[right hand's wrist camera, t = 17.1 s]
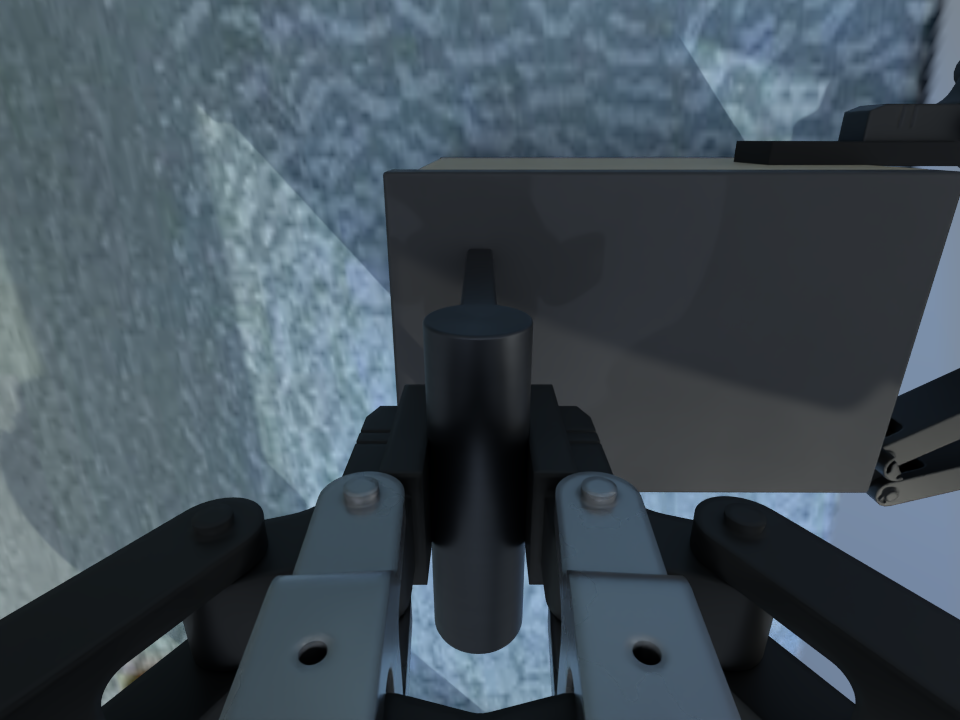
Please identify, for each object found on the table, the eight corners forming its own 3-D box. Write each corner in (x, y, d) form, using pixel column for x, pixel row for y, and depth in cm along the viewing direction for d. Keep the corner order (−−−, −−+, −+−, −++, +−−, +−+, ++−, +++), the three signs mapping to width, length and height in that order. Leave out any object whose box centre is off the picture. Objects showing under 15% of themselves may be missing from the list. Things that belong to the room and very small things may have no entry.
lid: (407, 470, 20) (350, 722, 11) (390, 169, 16) (283, 204, 7) (844, 472, 20) (1120, 725, 11) (932, 169, 16) (1449, 205, 7)
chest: (446, 357, 30) (428, 470, 20) (441, 157, 26) (416, 168, 16) (720, 357, 30) (844, 471, 20) (755, 156, 26) (931, 169, 16)
